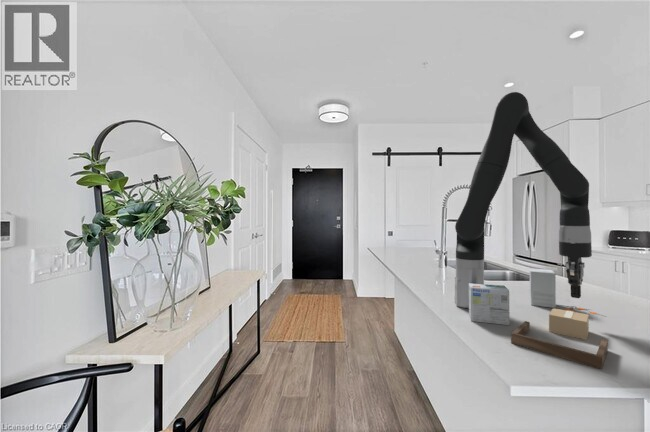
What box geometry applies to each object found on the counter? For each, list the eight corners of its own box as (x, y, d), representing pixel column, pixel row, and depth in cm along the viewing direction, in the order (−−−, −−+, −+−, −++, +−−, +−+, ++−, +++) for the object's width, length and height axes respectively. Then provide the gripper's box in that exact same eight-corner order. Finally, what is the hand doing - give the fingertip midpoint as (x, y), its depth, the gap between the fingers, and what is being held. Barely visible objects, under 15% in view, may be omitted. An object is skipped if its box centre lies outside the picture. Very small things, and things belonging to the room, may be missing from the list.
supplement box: (553, 303, 109) (553, 269, 109) (555, 308, 102) (556, 273, 102) (529, 300, 113) (529, 267, 113) (530, 305, 106) (530, 270, 106)
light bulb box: (504, 318, 93) (504, 284, 93) (510, 326, 86) (510, 290, 86) (467, 314, 96) (467, 282, 96) (470, 321, 90) (470, 287, 90)
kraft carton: (552, 324, 88) (553, 307, 88) (588, 332, 82) (588, 314, 82) (549, 332, 82) (549, 314, 82) (586, 340, 77) (587, 321, 77)
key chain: (556, 310, 102) (556, 307, 102) (557, 305, 108) (557, 302, 108) (607, 318, 94) (607, 315, 94) (604, 312, 100) (604, 310, 100)
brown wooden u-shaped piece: (525, 329, 83) (525, 321, 83) (607, 350, 71) (607, 340, 71) (511, 343, 75) (511, 333, 75) (601, 369, 62) (601, 357, 62)
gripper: (563, 238, 96) (564, 291, 96) (554, 241, 87) (555, 299, 87) (593, 239, 90) (595, 295, 90) (588, 242, 81) (589, 304, 81)
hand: (575, 297), depth 88 cm, fingers closed
